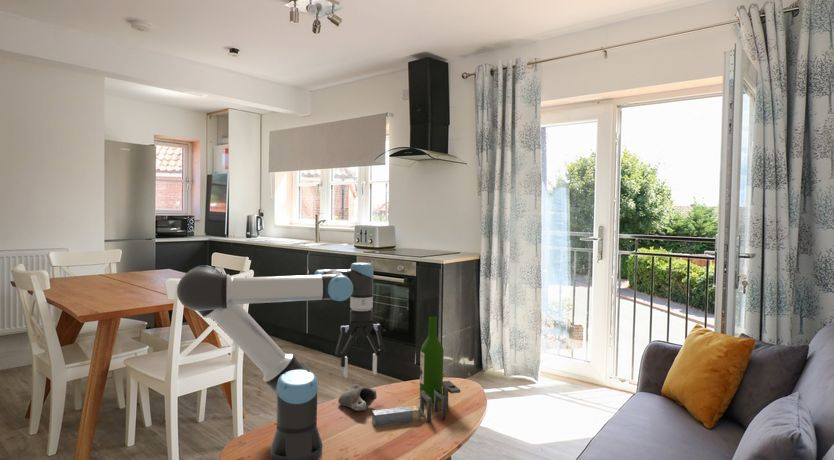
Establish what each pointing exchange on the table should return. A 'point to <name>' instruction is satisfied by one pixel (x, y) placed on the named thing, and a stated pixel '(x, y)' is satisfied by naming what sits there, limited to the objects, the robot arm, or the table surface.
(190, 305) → the robot arm
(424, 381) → the wine bottle
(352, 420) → the table surface
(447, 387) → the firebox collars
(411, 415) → the grey sharpening stone
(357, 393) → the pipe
